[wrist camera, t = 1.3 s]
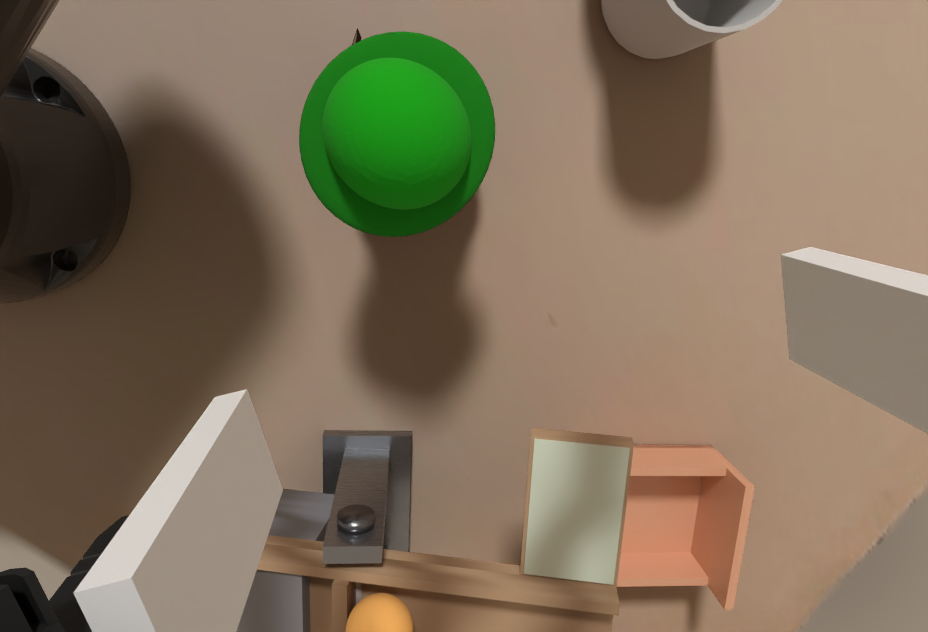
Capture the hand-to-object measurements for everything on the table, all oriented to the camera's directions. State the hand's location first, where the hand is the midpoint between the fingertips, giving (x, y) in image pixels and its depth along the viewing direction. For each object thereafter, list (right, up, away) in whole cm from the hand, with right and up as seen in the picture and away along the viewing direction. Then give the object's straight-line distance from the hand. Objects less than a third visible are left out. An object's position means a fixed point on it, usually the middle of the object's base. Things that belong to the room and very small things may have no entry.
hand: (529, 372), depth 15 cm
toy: (-5, +12, +24) cm, 27 cm away
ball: (-6, -15, +18) cm, 24 cm away
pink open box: (+11, -12, +31) cm, 36 cm away
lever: (-4, -10, +24) cm, 26 cm away
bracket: (-8, -12, +30) cm, 33 cm away
